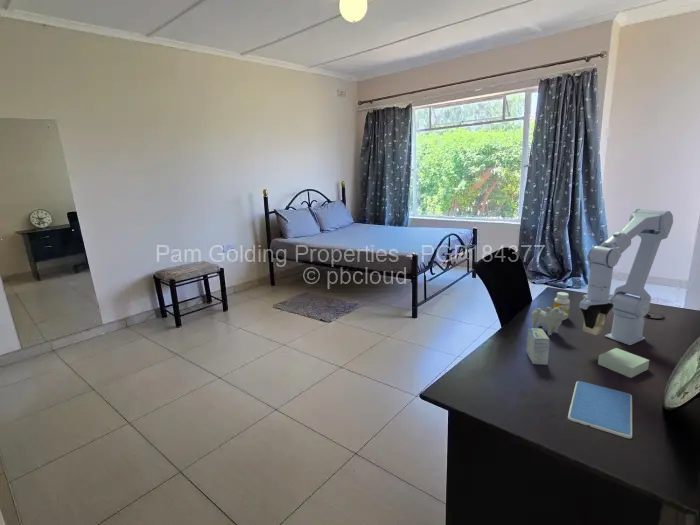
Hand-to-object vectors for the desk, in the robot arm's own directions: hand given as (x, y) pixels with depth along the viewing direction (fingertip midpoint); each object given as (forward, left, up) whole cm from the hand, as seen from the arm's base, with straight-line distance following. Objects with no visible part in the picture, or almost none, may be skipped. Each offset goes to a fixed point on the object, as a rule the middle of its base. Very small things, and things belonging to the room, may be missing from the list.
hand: (593, 325), depth 119 cm
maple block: (0, 0, -2) cm, 2 cm away
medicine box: (+18, -6, -9) cm, 21 cm away
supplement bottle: (-19, -23, -9) cm, 31 cm away
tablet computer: (+26, +18, -10) cm, 34 cm away
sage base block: (+1, +10, -9) cm, 14 cm away
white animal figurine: (-3, -17, -9) cm, 19 cm away
